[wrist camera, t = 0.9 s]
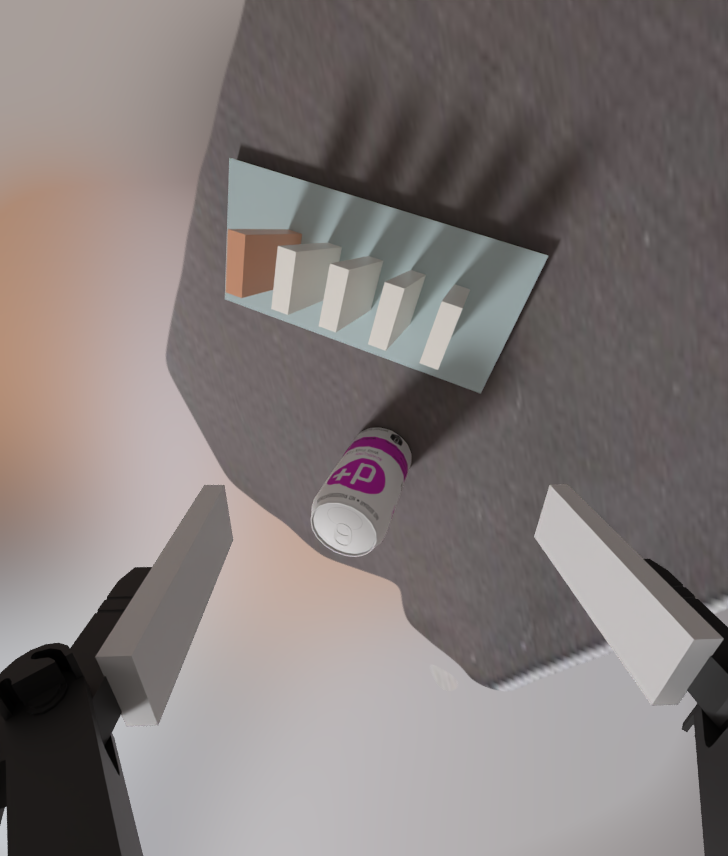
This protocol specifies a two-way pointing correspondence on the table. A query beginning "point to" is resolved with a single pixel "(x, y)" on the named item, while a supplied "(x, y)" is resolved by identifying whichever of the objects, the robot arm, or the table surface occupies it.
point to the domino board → (394, 268)
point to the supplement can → (362, 493)
